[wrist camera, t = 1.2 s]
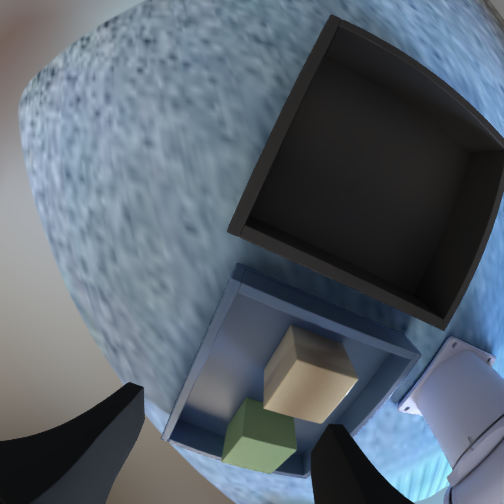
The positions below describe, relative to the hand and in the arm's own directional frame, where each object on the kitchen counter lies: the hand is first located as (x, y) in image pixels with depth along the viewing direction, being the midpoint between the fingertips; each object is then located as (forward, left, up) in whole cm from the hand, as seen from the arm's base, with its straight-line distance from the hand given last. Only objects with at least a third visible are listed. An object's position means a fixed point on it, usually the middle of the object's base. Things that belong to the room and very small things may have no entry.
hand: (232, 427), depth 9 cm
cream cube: (-4, +1, -8) cm, 9 cm away
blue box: (-4, +4, -9) cm, 11 cm away
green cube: (-4, +8, -8) cm, 12 cm away
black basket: (-3, -12, -9) cm, 15 cm away
